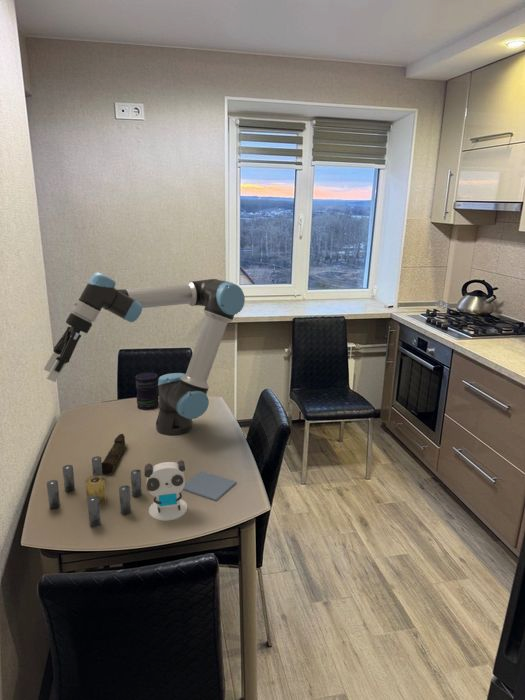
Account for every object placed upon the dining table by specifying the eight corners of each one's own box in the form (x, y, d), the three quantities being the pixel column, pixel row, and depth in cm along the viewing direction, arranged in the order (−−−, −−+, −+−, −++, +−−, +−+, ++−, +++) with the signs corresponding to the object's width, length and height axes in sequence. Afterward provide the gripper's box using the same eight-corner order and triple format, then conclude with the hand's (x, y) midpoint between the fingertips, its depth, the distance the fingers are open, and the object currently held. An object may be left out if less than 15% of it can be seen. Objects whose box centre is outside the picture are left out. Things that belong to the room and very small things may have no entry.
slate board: (201, 472, 164) (201, 470, 163) (236, 483, 157) (236, 481, 157) (179, 488, 153) (179, 487, 153) (216, 501, 147) (216, 499, 147)
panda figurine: (146, 523, 136) (144, 476, 132) (146, 501, 146) (144, 457, 142) (188, 517, 139) (187, 472, 135) (185, 496, 149) (184, 453, 145)
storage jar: (152, 400, 226) (151, 370, 222) (162, 407, 219) (161, 376, 215) (133, 405, 220) (131, 375, 216) (143, 412, 213) (141, 380, 209)
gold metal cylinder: (97, 493, 150) (95, 473, 148) (110, 498, 147) (108, 478, 146) (83, 502, 145) (81, 481, 143) (96, 507, 143) (94, 486, 141)
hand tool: (113, 475, 161) (112, 460, 160) (99, 475, 161) (98, 460, 160) (132, 445, 183) (131, 431, 181) (120, 444, 183) (119, 431, 181)
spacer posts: (91, 474, 161) (89, 452, 159) (152, 496, 149) (151, 474, 147) (39, 503, 144) (36, 480, 142) (103, 532, 132) (101, 506, 130)
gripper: (66, 308, 162) (35, 362, 161) (76, 316, 141) (40, 379, 139) (87, 318, 166) (56, 372, 164) (99, 328, 145) (64, 389, 143)
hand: (48, 375), depth 152 cm, fingers open, 13 cm apart
